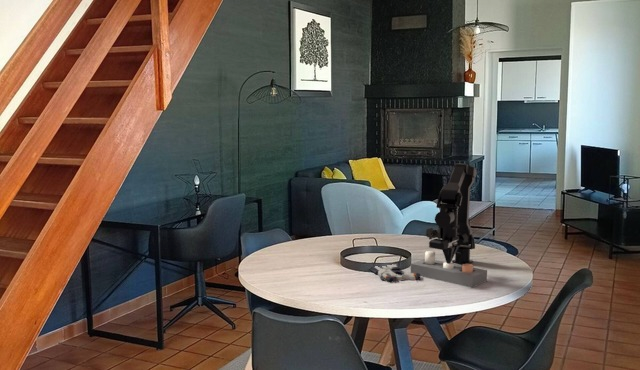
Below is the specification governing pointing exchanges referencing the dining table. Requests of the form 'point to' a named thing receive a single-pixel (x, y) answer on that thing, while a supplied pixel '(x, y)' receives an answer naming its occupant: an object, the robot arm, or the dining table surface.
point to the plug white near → (430, 257)
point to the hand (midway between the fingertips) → (448, 263)
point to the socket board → (449, 273)
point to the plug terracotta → (467, 268)
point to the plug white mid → (448, 265)
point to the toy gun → (394, 273)
